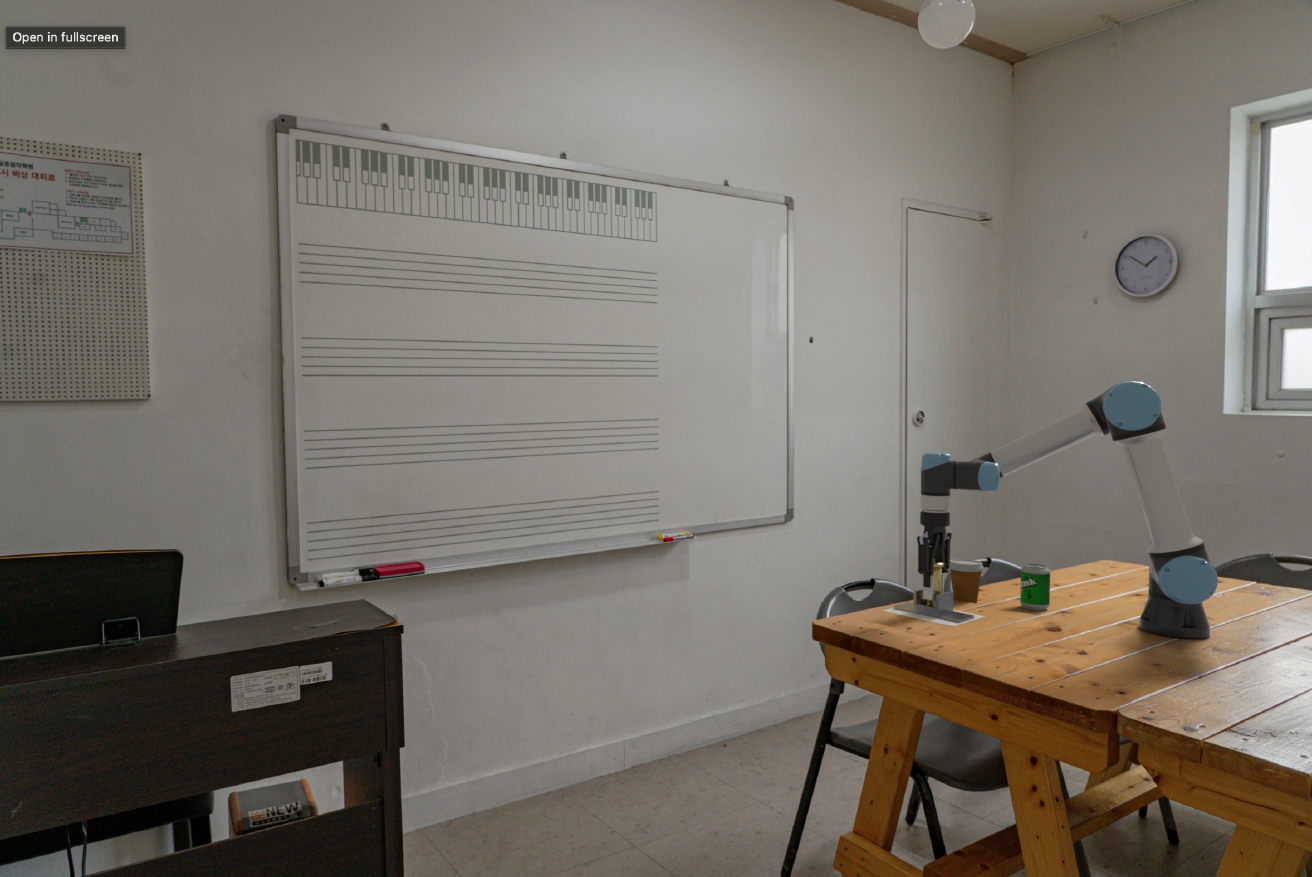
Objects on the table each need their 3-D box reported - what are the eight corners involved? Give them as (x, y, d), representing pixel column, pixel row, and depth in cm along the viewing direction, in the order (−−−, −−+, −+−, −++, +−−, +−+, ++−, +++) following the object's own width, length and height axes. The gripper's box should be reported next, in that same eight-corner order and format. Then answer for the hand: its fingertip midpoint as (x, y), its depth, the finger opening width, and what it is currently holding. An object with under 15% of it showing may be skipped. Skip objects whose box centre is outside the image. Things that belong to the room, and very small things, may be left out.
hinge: (974, 618, 216) (974, 595, 216) (959, 623, 211) (960, 599, 211) (908, 604, 231) (909, 583, 230) (893, 608, 226) (894, 586, 226)
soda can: (1043, 605, 236) (1044, 563, 236) (1053, 611, 229) (1054, 568, 229) (1016, 604, 237) (1017, 562, 237) (1025, 610, 230) (1026, 567, 229)
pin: (946, 610, 221) (947, 562, 220) (936, 613, 217) (937, 565, 217) (929, 607, 224) (930, 560, 224) (919, 609, 221) (920, 562, 221)
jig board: (985, 620, 218) (985, 616, 218) (953, 631, 208) (953, 626, 208) (914, 606, 234) (914, 601, 234) (881, 615, 224) (882, 610, 224)
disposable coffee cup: (987, 607, 234) (988, 565, 233) (954, 606, 234) (954, 564, 233) (975, 599, 243) (976, 558, 243) (943, 599, 243) (943, 558, 243)
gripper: (939, 507, 228) (938, 591, 229) (904, 511, 217) (902, 600, 218) (965, 509, 223) (963, 595, 224) (930, 514, 211) (928, 605, 212)
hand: (933, 597), depth 221 cm, fingers open, 4 cm apart
